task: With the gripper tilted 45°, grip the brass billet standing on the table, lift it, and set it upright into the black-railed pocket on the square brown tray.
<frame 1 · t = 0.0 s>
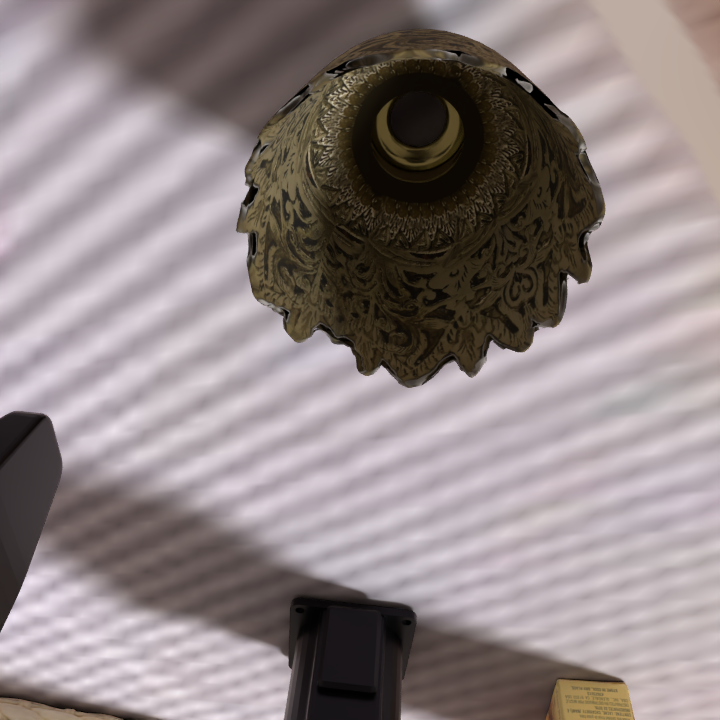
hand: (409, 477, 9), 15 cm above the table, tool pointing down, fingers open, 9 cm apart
cup: (417, 116, 21), on the table
candy box: (576, 712, 41), on the table
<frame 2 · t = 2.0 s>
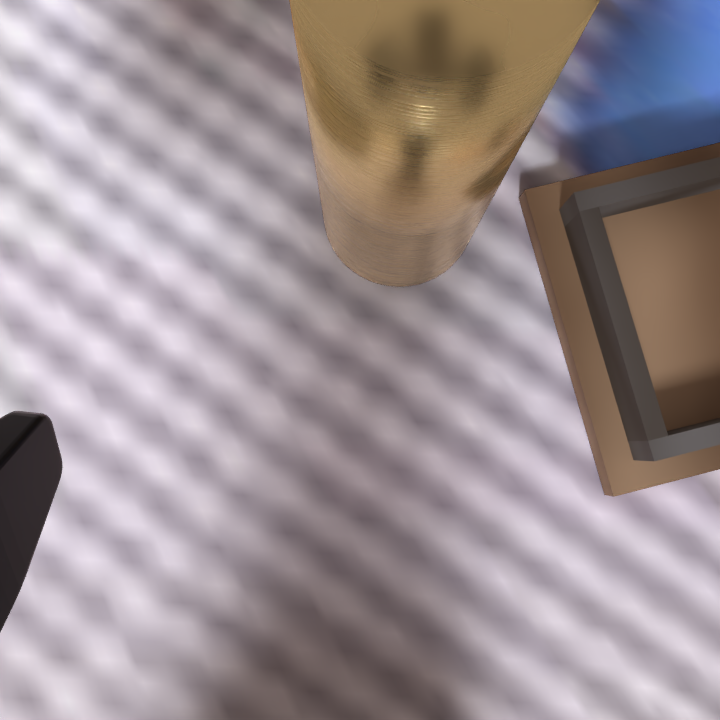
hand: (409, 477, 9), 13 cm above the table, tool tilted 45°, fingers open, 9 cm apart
billet: (398, 213, 23), on the table
square brown tray: (707, 305, 23), on the table
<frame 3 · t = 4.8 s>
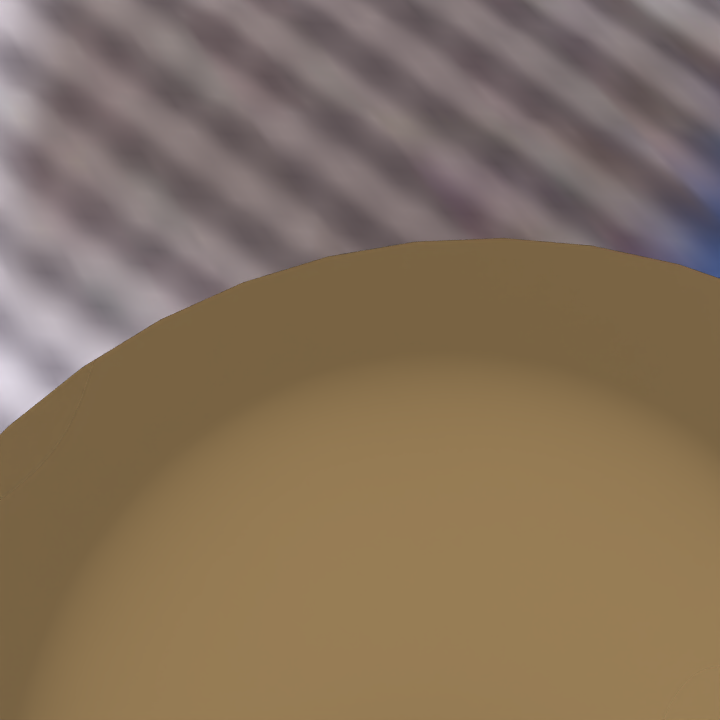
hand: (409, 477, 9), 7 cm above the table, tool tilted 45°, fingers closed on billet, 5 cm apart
billet: (380, 528, 15), on the table, touching gripper
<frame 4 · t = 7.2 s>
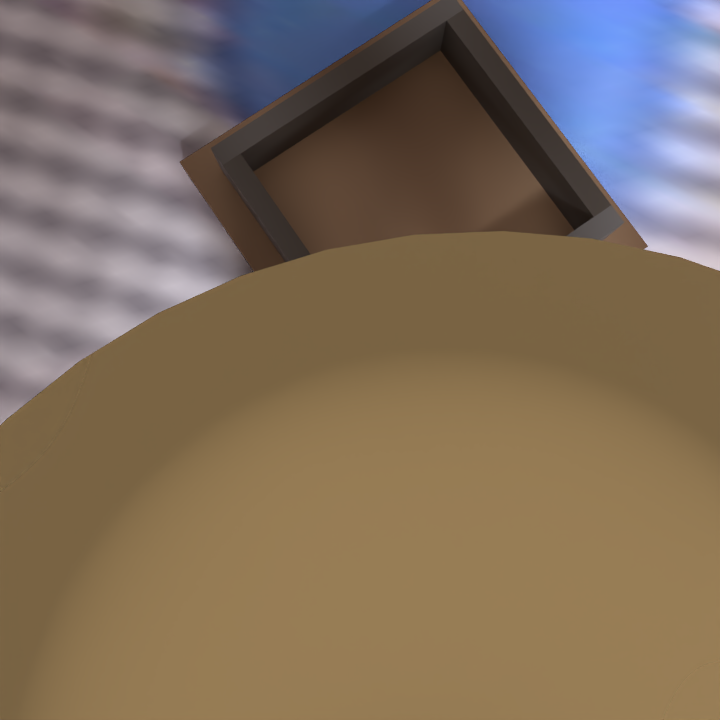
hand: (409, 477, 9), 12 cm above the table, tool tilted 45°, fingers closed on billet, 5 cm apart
billet: (380, 528, 15), point 5 cm above the table, touching gripper
square brown tray: (410, 212, 21), on the table
when the fingers open (9 cm above the table, at t = 9.8 s): billet drops 1 cm, resting on square brown tray.
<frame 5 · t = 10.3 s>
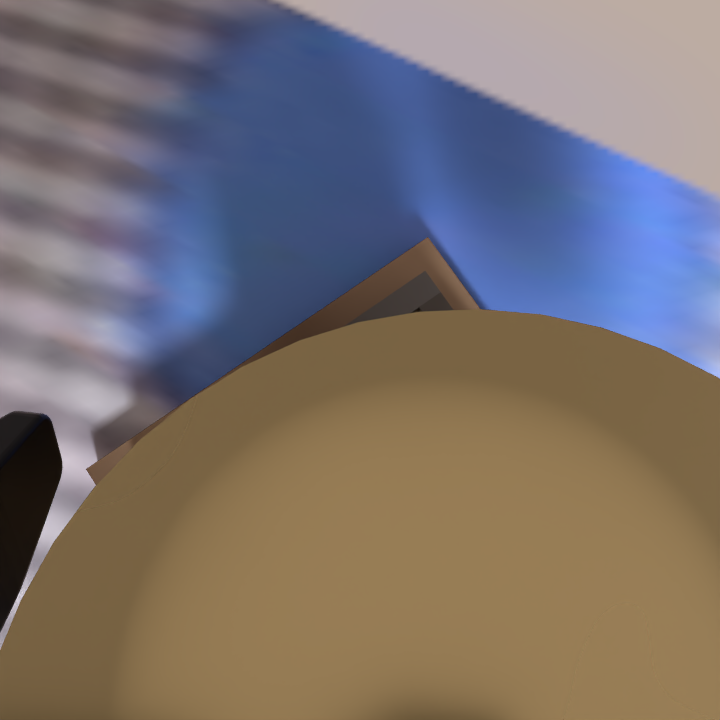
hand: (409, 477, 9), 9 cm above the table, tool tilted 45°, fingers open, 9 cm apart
billet: (378, 525, 16), point 1 cm above the table, touching square brown tray
square brown tray: (377, 519, 17), on the table
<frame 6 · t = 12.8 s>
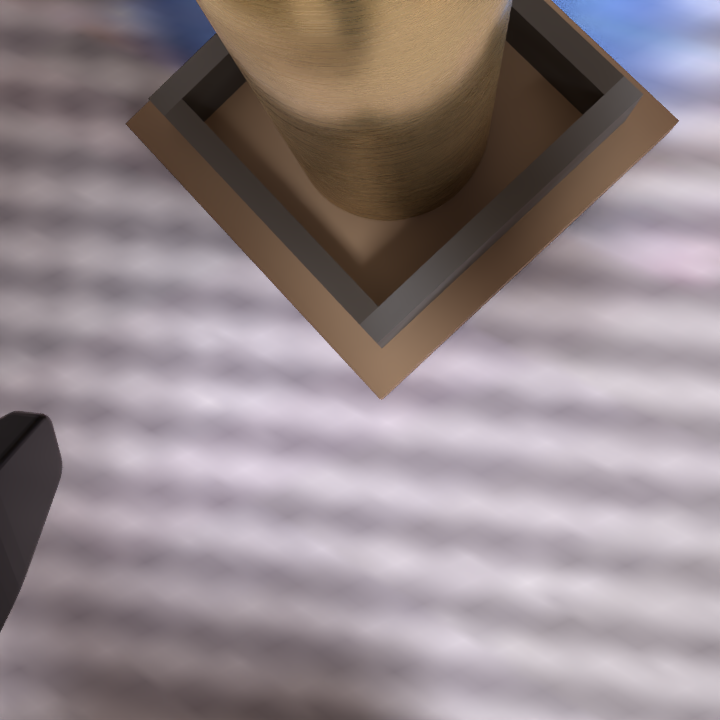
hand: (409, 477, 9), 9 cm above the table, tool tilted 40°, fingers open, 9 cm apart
billet: (390, 123, 18), point 1 cm above the table, touching square brown tray
square brown tray: (392, 134, 18), on the table
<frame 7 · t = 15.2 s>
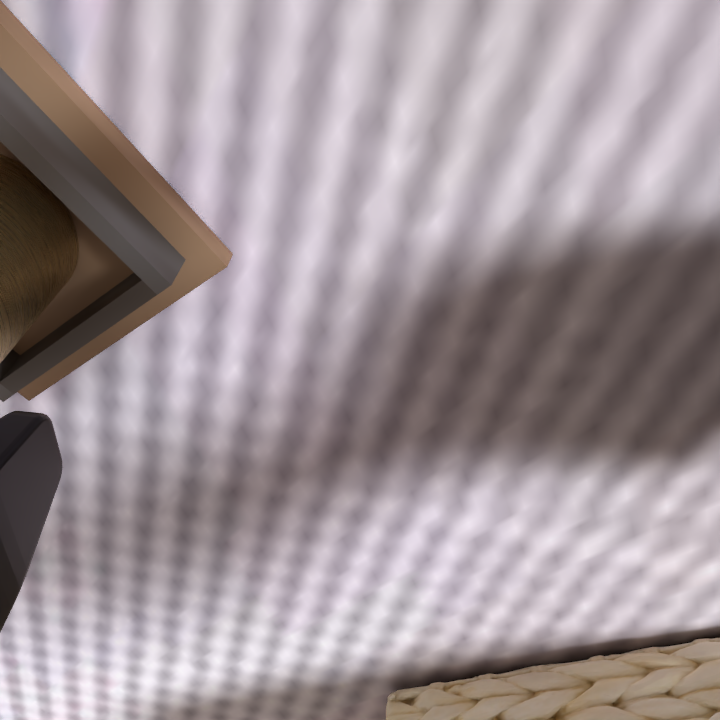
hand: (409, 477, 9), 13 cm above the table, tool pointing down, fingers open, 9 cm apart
storage basket: (616, 713, 38), on the table
square brown tray: (8, 215, 22), on the table
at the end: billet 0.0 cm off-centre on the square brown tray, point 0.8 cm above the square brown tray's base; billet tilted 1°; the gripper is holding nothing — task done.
